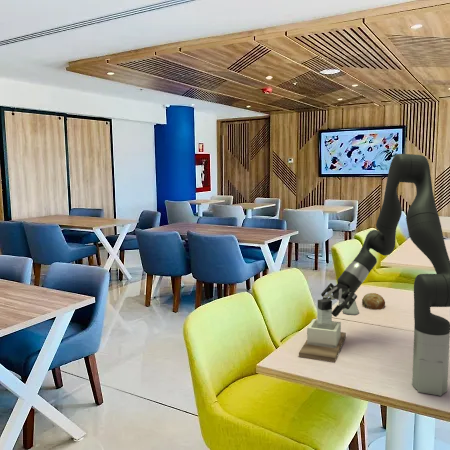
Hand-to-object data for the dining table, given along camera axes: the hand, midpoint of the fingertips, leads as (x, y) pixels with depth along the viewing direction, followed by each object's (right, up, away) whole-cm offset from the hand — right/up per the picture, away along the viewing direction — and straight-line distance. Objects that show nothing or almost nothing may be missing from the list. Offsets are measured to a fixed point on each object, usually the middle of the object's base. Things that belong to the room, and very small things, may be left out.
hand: (326, 311), depth 160 cm
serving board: (-1, -12, 0) cm, 12 cm away
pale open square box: (0, -11, +1) cm, 11 cm away
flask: (+19, -8, +36) cm, 42 cm away
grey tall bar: (0, -10, +1) cm, 10 cm away
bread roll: (+32, -6, +45) cm, 55 cm away
